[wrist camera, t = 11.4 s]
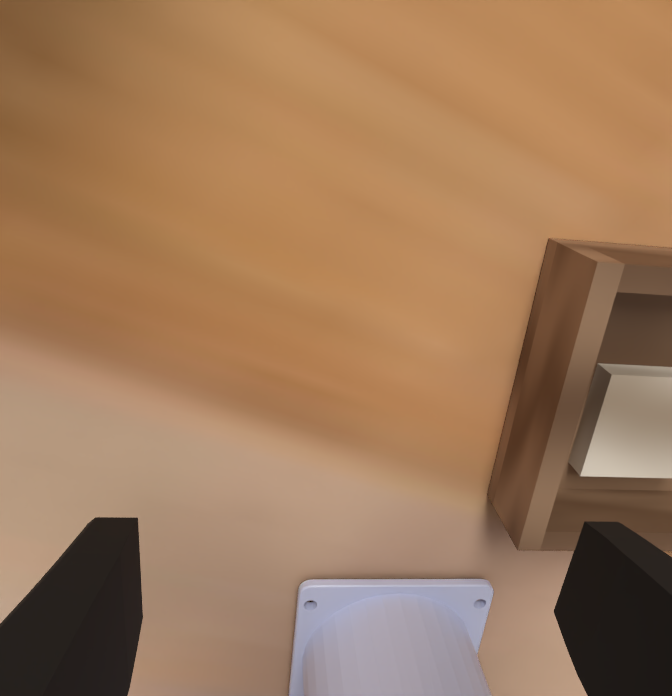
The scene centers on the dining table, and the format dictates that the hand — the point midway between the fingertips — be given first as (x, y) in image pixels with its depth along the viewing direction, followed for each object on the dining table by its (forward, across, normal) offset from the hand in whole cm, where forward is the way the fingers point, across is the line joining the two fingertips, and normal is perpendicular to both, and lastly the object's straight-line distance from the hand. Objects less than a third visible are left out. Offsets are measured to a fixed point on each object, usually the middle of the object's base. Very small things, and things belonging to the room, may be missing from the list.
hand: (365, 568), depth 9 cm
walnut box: (+10, -12, +2) cm, 16 cm away
